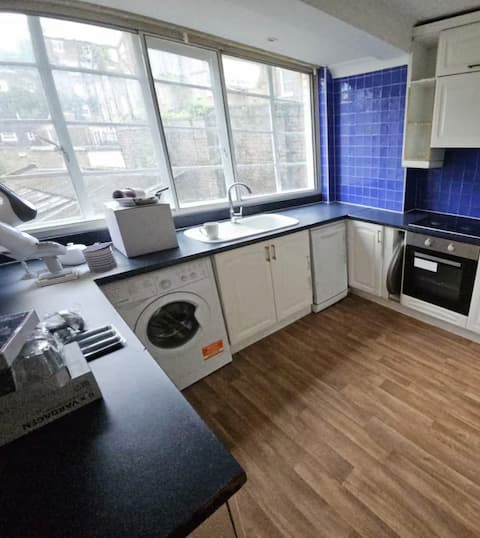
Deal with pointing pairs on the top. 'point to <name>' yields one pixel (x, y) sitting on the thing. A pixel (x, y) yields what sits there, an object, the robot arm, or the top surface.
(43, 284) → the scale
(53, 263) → the beverage can
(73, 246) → the teapot
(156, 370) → the top surface
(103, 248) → the grey ribbed cylinder
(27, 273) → the chalice
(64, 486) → the top surface
